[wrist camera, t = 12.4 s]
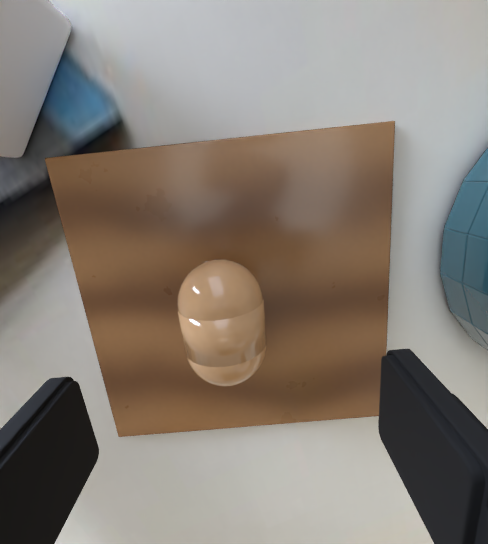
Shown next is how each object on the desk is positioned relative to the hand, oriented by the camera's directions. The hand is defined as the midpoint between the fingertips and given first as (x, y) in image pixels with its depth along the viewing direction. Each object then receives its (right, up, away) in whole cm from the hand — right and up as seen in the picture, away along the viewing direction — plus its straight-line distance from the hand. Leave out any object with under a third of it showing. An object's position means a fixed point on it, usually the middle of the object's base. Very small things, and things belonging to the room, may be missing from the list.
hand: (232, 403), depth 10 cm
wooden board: (0, +2, +9) cm, 10 cm away
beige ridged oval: (0, +2, +9) cm, 9 cm away
